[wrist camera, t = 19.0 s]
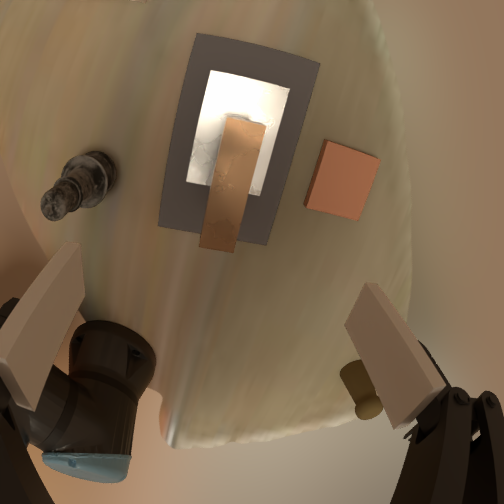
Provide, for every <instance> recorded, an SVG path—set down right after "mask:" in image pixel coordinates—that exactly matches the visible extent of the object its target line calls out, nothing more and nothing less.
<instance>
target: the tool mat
mask: <svg viewBox="0 0 504 504" xmlns="http://www.w3.org/2000/svg"><path fill="white" fill-rule="evenodd" d="M319 66H320V63H318V62H315V61H312V60H309V59H306V58H303V57H300V56H296V55H293V54H290V53H286V52H283V51H279V50H276V49H272V48H268V47H265V46H261V45H257V44H252V43H248V42H243V41H239V40H234V39H229V38H224V37H218V36H212V35H206V34H200V33H197V34H196V38H195V41H194V45H193V48H192V52H191V55H190V59H189V63H188V67H187V71H186V75H185V79H184V83H183V87H182V91H181V95H180V100H179V104H178V109H177V113H176V118H175V123H174V128H173V133H172V138H171V143H170V149H169V154H168V160H167V166H166V172H165V178H164V185H163V192H162V199H161V206H160V214H159V222H158V226H160V227H166V228H172V229H177V230H183V231H189V232H194V233H200V234H201V230H202V225H203V219H204V214H205V209H206V204H207V200H208V195H209V190H210V186H207V185H201V184H196V183H190V182H186V180H187V175H188V169H189V164H190V159H191V154H192V149H193V144H194V140H195V135H196V130H197V126H198V121H199V117H200V113H201V108H202V104H203V100H204V96H205V92H206V88H207V84H208V80H209V76H210V72H211V70H212V71H218V72H223V73H228V74H233V75H237V76H242V77H246V78H251V79H255V80H259V81H263V82H267V83H271V84H274V85H278V86H282V87H285V88H289V89H290V90H289V93H288V97H287V100H286V104H285V107H284V111H283V114H282V118H281V122H280V125H279V129H278V132H277V136H276V139H275V143H274V147H273V150H272V154H271V157H270V161H269V164H268V168H267V172H266V175H265V179H264V182H263V186H262V190H261V193H260V196H257V195H252V194H248V198H247V202H246V206H245V209H244V213H243V217H242V221H241V225H240V229H239V233H238V237H237V240H239V241H245V242H250V243H256V244H261V245H267V242H268V238H269V235H270V232H271V228H272V225H273V222H274V219H275V215H276V212H277V209H278V205H279V202H280V199H281V196H282V192H283V189H284V186H285V182H286V179H287V176H288V172H289V169H290V166H291V162H292V159H293V155H294V152H295V149H296V145H297V142H298V139H299V135H300V132H301V128H302V125H303V122H304V118H305V115H306V111H307V108H308V104H309V101H310V97H311V94H312V91H313V87H314V84H315V80H316V77H317V73H318V70H319Z"/></svg>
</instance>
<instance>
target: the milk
mask: <svg viewBox="0 0 504 504" xmlns="http://www.w3.org/2000/svg"><path fill="white" fill-rule="evenodd" d="M130 1H136V2H141V3H146V1H147V0H130Z"/></svg>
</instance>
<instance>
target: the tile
mask: <svg viewBox="0 0 504 504" xmlns="http://www.w3.org/2000/svg"><path fill="white" fill-rule="evenodd" d="M380 161H381V160H380V159H378V158H376V157H373V156H371V155H368V154H365V153H363V152H360V151H357V150H355V149H352V148H349V147H346V146H343V145H340V144H337V143H334V142H331V141H328V140H325V139H324V142H323V145H322V149H321V152H320V155H319V158H318V161H317V164H316V167H315V171H314V174H313V177H312V180H311V183H310V186H309V189H308V192H307V195H306V198H305V201H304V205H305V207H306V208H309V209H313V210H317V211H321V212H326V213H330V214H334V215H337V216H341V217H345V218H349V219H353V220H357V221H358V220H359V218H360V215H361V213H362V210H363V207H364V205H365V202H366V200H367V197H368V194H369V192H370V189H371V186H372V184H373V181H374V178H375V175H376V173H377V170H378V167H379V164H380Z"/></svg>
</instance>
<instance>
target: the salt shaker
mask: <svg viewBox="0 0 504 504" xmlns="http://www.w3.org/2000/svg"><path fill="white" fill-rule="evenodd" d="M115 178H116V169H115V166H114V163H113V161H112V160H111V158H110V157H109V156H107V155H106V154H104V153H102V152H99V151H92V152H89V153H87V154H85V155H79V156H76V157H74V158H72V159H71V160H69V161H68V162H67V163H66V165H65V166H64V168H63V171H62V174H61V178H59V179H58V180H57V181H56V182H55V184H54V186H53V188H51V189H50V190H49V191H47V192H46V193H45V194H44V195H43V197H42V199H41V211H42V213H43V215H44V216H45V217H46V218H47V219H49V220H51V221H58V220H60V219H62V218H63V217H64V216H65V215H66V214H67V213H68V212H73V211H76V210H77V209H78V208H79V207H81V208H91V207H94V206H96V205H97V204H99V203H100V202H101V201H102V200H103V198H104V197H105V195H106V192H107V191H109V190H110V189H111V187H112V186H113V184H114V182H115Z"/></svg>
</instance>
